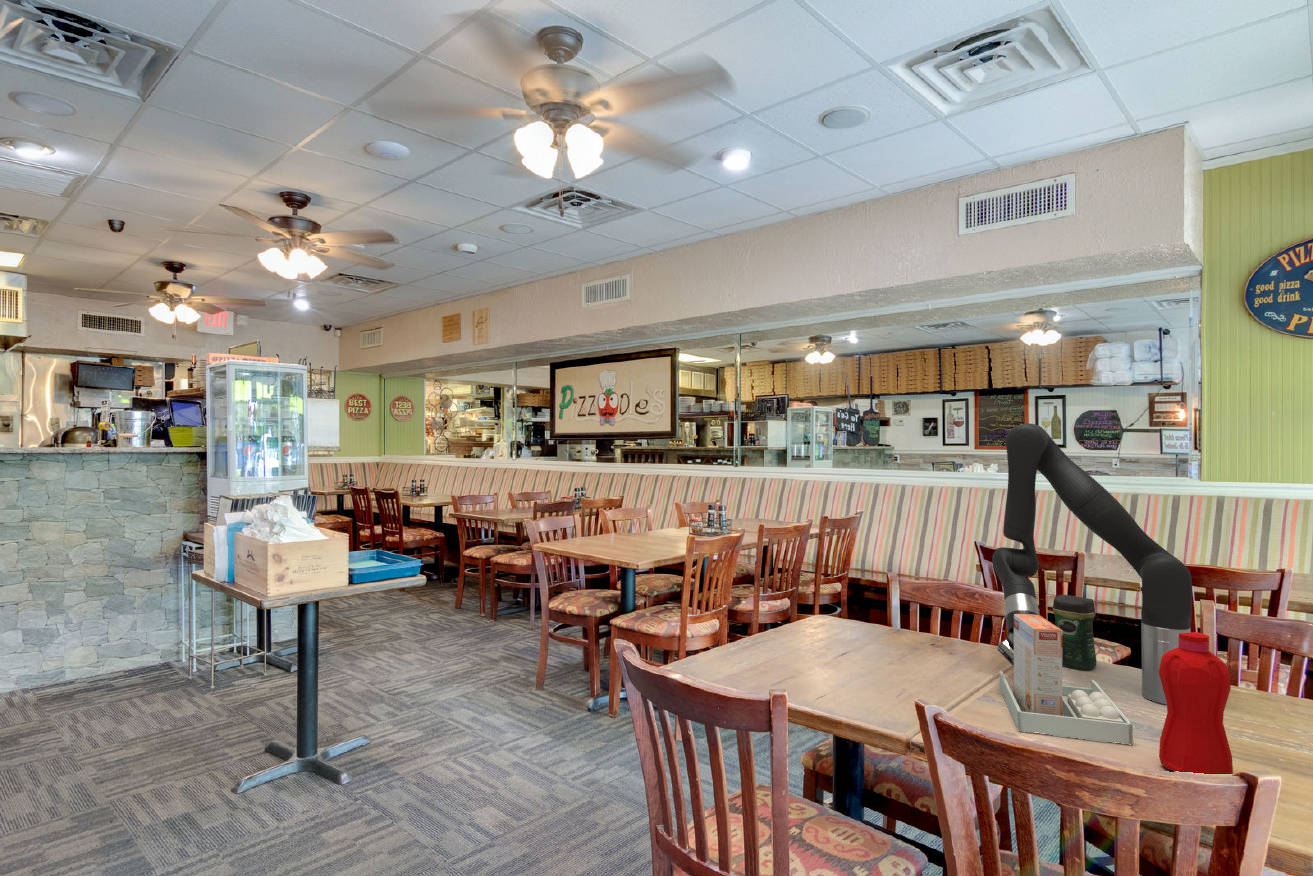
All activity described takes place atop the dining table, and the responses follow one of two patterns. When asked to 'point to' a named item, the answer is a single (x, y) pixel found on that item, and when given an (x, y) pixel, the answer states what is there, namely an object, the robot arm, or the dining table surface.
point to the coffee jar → (1076, 630)
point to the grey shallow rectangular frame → (1068, 719)
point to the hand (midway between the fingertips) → (1031, 684)
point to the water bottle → (1195, 708)
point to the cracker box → (1037, 665)
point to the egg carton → (1093, 706)
